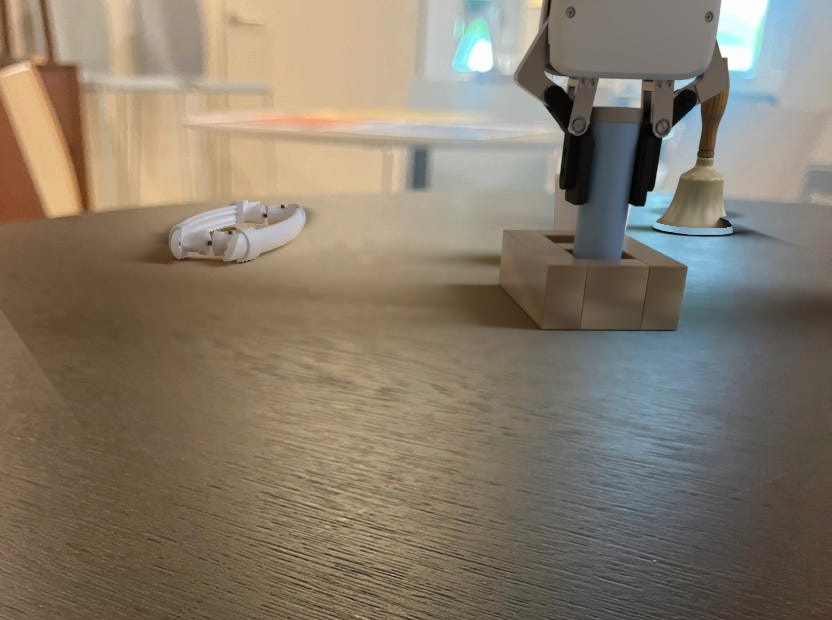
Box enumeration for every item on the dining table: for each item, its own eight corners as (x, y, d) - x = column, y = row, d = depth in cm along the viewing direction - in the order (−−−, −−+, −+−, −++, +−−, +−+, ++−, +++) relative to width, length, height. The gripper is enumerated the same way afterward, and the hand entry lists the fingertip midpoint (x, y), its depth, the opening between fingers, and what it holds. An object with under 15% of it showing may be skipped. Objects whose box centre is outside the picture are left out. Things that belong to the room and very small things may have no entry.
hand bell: (731, 238, 103) (765, 57, 96) (647, 232, 106) (674, 56, 98) (735, 228, 110) (768, 58, 102) (657, 223, 113) (682, 57, 105)
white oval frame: (323, 228, 105) (260, 268, 84) (230, 224, 106) (145, 261, 85) (323, 200, 104) (259, 232, 82) (229, 196, 105) (143, 227, 84)
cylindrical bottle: (613, 255, 70) (635, 107, 65) (627, 263, 67) (650, 109, 63) (566, 254, 70) (584, 105, 65) (578, 262, 67) (598, 107, 62)
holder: (611, 285, 80) (619, 230, 78) (677, 330, 66) (688, 266, 65) (498, 284, 79) (503, 229, 77) (541, 329, 66) (548, 264, 64)
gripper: (766, -131, 61) (706, 199, 70) (496, -143, 60) (470, 194, 69) (823, -154, 55) (748, 213, 64) (521, -167, 54) (489, 208, 63)
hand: (604, 200), depth 67 cm, fingers closed on cylindrical bottle, 3 cm apart
